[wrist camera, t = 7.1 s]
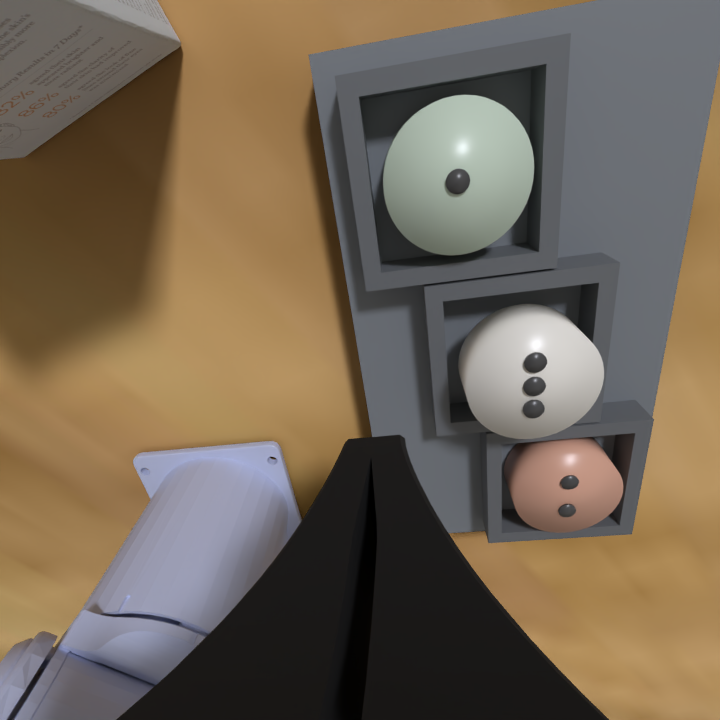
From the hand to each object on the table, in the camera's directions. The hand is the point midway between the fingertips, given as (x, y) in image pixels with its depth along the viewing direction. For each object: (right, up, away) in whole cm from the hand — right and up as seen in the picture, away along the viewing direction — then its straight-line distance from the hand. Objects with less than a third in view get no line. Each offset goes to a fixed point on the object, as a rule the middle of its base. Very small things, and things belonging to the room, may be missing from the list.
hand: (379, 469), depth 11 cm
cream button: (+5, +3, +6) cm, 8 cm away
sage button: (+2, +9, +4) cm, 10 cm away
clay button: (+8, -2, +9) cm, 13 cm away
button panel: (+6, +4, +9) cm, 11 cm away
